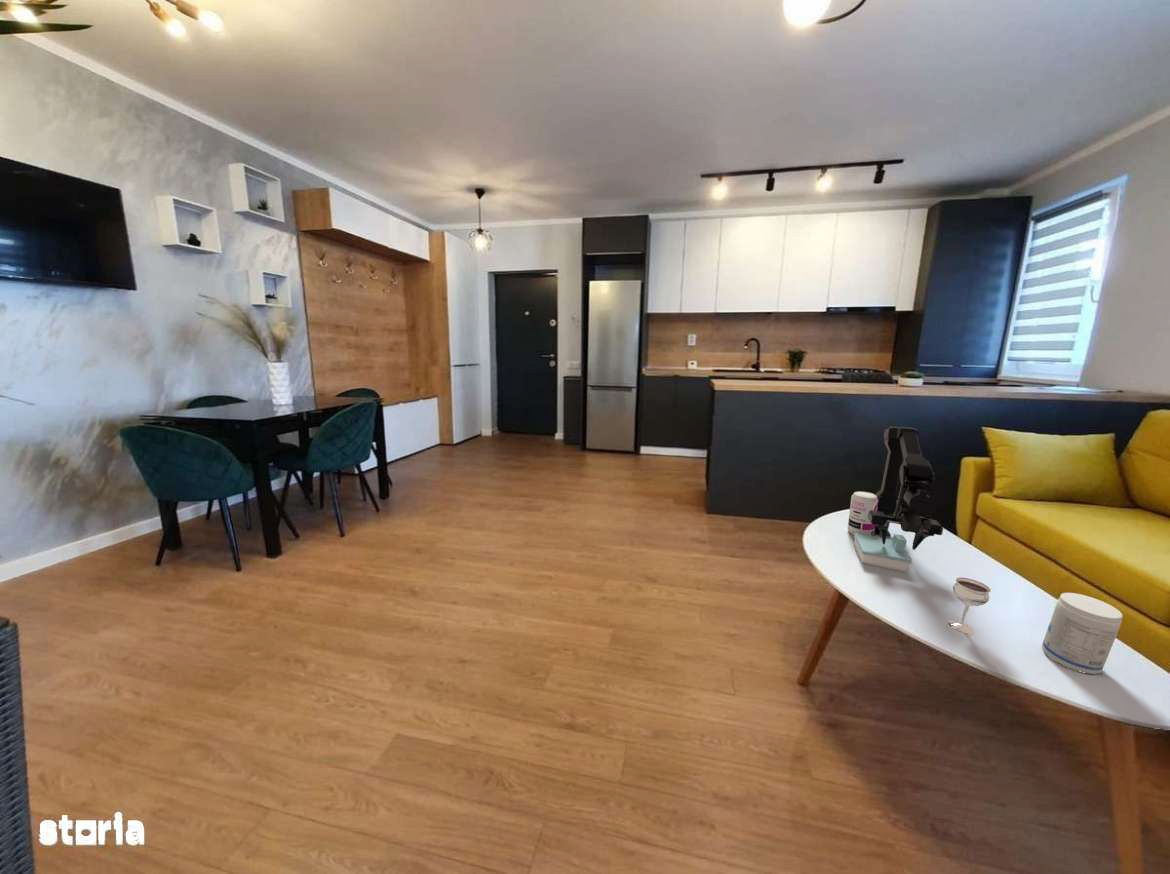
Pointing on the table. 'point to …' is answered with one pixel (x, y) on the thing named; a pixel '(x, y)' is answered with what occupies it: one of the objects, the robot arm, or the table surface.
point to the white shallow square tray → (880, 561)
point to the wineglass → (969, 599)
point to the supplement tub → (1081, 632)
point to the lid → (883, 547)
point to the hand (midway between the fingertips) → (898, 546)
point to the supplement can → (862, 513)
